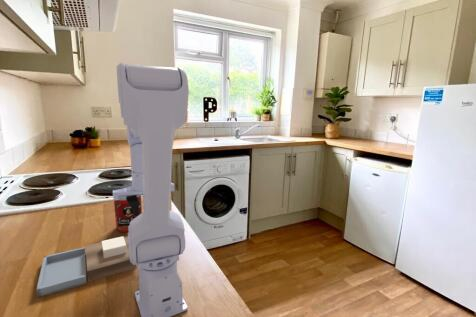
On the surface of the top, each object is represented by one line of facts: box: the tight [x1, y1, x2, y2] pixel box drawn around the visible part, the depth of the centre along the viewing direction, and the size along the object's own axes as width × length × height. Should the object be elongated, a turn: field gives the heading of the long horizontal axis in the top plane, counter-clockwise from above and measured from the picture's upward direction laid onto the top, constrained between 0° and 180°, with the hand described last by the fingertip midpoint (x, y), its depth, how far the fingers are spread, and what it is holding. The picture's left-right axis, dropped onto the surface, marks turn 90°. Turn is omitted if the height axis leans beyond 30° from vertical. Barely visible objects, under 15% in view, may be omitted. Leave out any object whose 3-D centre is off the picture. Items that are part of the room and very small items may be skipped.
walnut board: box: [85, 235, 138, 282], centre depth 63 cm, size 12×10×2 cm
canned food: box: [113, 195, 143, 233], centre depth 80 cm, size 8×8×11 cm
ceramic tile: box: [101, 235, 127, 258], centre depth 63 cm, size 5×5×2 cm
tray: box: [36, 246, 88, 298], centre depth 58 cm, size 13×8×2 cm, turn 31°
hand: (146, 221), depth 66 cm, fingers open, 4 cm apart
